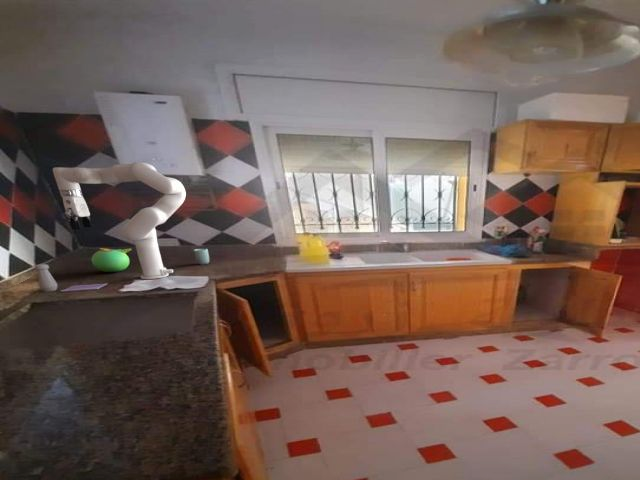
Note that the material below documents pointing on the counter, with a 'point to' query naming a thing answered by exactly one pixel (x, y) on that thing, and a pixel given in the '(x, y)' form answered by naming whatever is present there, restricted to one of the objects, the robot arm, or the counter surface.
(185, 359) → the counter surface
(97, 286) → the dish towel
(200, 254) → the cup
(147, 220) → the robot arm
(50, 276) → the salt shaker
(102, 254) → the green round piece
